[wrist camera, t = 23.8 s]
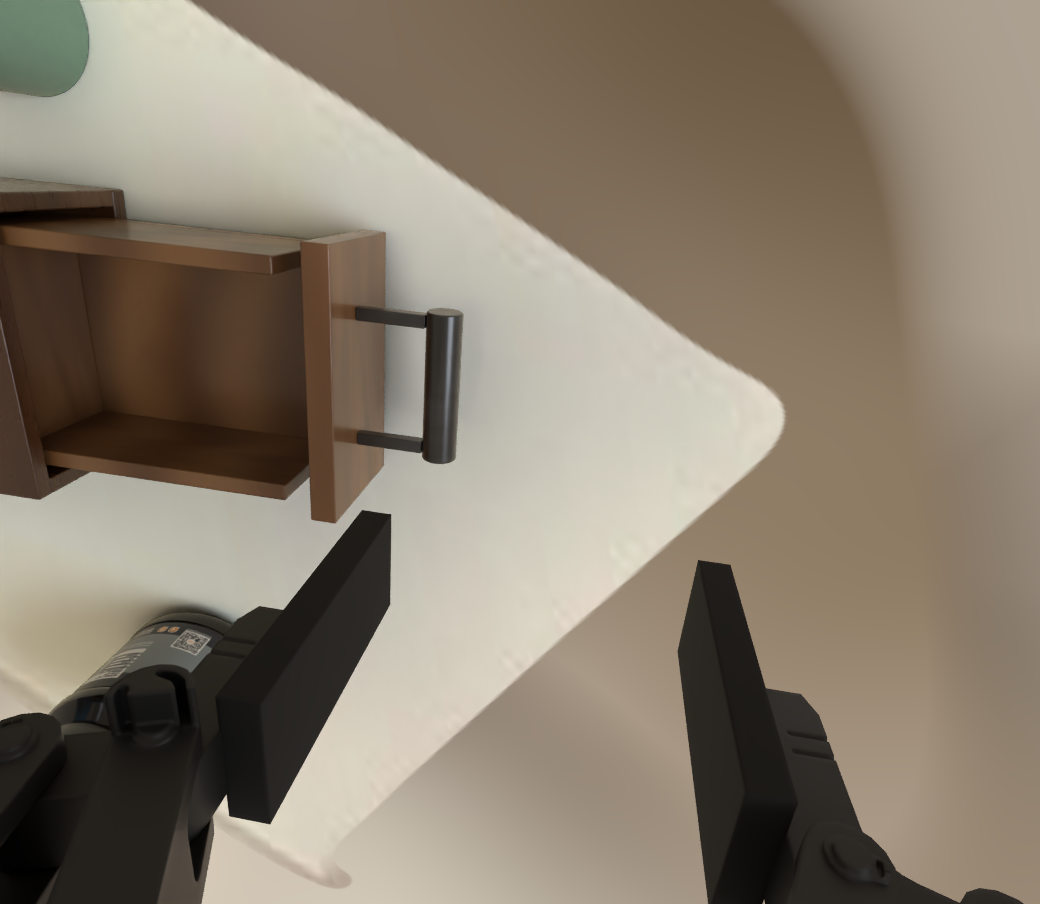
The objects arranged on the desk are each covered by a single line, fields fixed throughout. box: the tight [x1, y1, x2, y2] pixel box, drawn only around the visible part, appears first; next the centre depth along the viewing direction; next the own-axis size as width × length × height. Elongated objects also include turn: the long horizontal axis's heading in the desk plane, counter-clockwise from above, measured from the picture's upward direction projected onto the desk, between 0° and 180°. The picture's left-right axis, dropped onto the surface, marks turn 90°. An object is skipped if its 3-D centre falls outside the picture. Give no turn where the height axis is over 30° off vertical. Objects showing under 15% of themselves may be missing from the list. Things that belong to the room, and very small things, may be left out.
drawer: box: [0, 214, 463, 523], centre depth 32 cm, size 21×12×7 cm, turn 85°
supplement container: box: [48, 612, 232, 735], centre depth 40 cm, size 10×10×12 cm
